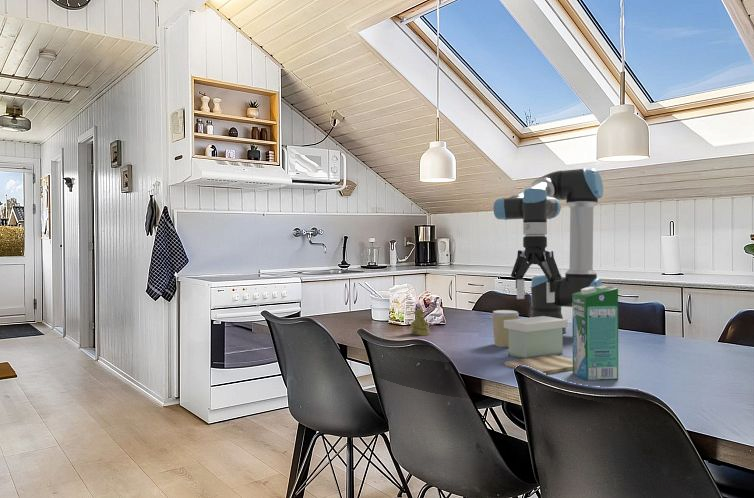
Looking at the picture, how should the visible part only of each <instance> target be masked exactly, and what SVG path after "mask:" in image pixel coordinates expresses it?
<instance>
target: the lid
mask: <svg viewBox="0 0 754 498" xmlns="http://www.w3.org/2000/svg"><path fill="white" fill-rule="evenodd" d="M564 327H566V328H568V319H565V318H563V319H559V318H553V317H547V316H540V317H531V318H530V317H523V318H518V319H512V320H504V328H508V329H513V330H518V331H523V332H531V331H540V330H548V329H556V328H564Z"/></svg>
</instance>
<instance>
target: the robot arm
mask: <svg viewBox="0 0 754 498" xmlns="http://www.w3.org/2000/svg"><path fill="white" fill-rule="evenodd" d="M603 195H604V185H603V180H602V176H601V174H600V172H599V171H598V170H597V169H596V168H576V169H568V170H567V169H564V170H556V171H553V172H549V173H547V174H545V175H543V176H541V177H539V178H537V179H535V180H534V181H532V184H530V185H529V186H528V187H526V188H524V189H522V190H520V191H519V192H517V193H515V194H513V195H512V196H509V197H506V198H505V197H501V198H497V199H495V200H494V202H493V216H494V217H495V218H496V219H497V220H505V221H506V220H522V222H523V223H522V230H523V231H522V232H523V235H525V236H523V237H522V239H523V240H522V242H523V243H522V245H523V246H522V247H523V248H524V249H522V250H520V249H519V250H517V256H516V257H517V258H516V259H515V261H514V262H515V263H514V265H513V268H512V271H511V274H510V277H511V278H514V280H515V288H516V300H525V278H524V276H525V275H526V273H527V271H528V270H529V268H530V267H531V266H532V265H537V266H539V268H540V269H541V271H542V273H543V274H541V275H535V276H533V277H532V279H531V285H530V289H531V291H530V294H531V295H530V297H531V298H530V299H531V300H530V301H531V313H530V316H529V318H531V317H540V316H547V317H553V318H559V319H564V317H563V313H562V307H564V308H565V307H566V308H572V294H573V293H577V292H580V291H581V289H583V288H586V287H592V286H594V287H598V286H601V285H603V283H602V280H601V278H599V277H598V275H597V272H596V271H595V270H594V269H593V268H594V267H593V265H594V262H593V261H594V260H593V259H594V258H593V257H594V254H593V253H594V208H595V207H596V206H597V205H598V204H599V202H598V200H599V199H601V198H602V197H603ZM561 200H564V201H566V203H565V205H567V206H568V207H569V209H570V210H569V211H570V212H569V215H570V217H569V269H567V270H566V271H565V275H564V276H565V277H563V276H562V274H561V273H560V270H559V267H558V265H557V263H556V262H557V261H556V260H555V258H554V257H555V256H554V250H546V248H547V247H548V237H547V236H546V235H547V234H548V222H547V221H548V220H551V219H554V218H557V217H558V216H559V214H560V212H561V210H562V206H561V203H560V201H561ZM566 332H567V327H564V328H562V334H565V333H566Z"/></svg>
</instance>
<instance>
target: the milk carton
mask: <svg viewBox="0 0 754 498" xmlns="http://www.w3.org/2000/svg"><path fill="white" fill-rule="evenodd" d="M571 308H572V312H571V313H572V316H571V317H572V359H573V370H572V374H574V375H576V376H578V377H580V378H581V377H582V379H583V378H584V380H585V379H586V380H585V381H587V380H589V381H594V380H593V379H617V380H619V288H618V287H613V286H608V285H603V284H602V285H601V286H598V287H594V286H592V287H586V288H583V289H581V291H580V292H577V293H573V294H572V307H571Z"/></svg>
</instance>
